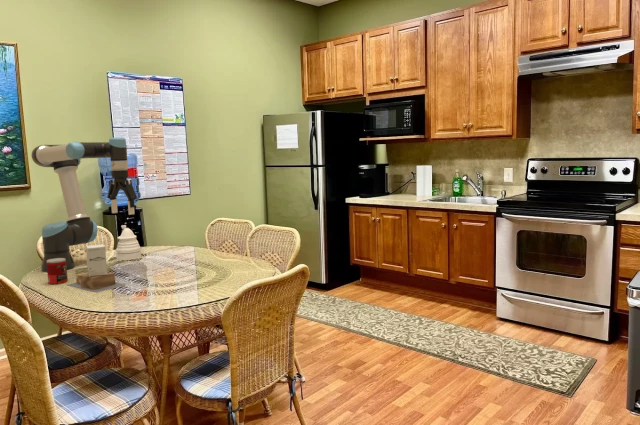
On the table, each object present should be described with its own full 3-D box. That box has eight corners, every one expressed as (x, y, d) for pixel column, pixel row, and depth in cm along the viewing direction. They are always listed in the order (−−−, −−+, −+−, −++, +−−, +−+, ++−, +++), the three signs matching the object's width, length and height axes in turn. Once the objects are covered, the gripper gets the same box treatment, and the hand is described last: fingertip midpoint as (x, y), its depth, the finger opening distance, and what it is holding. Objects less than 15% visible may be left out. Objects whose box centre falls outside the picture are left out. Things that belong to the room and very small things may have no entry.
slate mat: (65, 286, 218) (65, 285, 217) (95, 279, 229) (95, 277, 229) (96, 294, 204) (96, 292, 204) (126, 286, 216) (126, 284, 215)
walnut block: (81, 286, 214) (80, 275, 213) (102, 281, 222) (101, 270, 222) (94, 289, 208) (93, 278, 208) (115, 284, 217) (114, 273, 216)
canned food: (59, 286, 218) (57, 261, 217) (44, 285, 220) (42, 261, 219) (71, 281, 226) (69, 258, 224) (56, 281, 227) (54, 257, 226)
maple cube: (76, 283, 220) (75, 274, 219) (85, 281, 223) (84, 272, 222) (81, 284, 217) (80, 275, 217) (90, 282, 221) (89, 273, 220)
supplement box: (88, 277, 210) (86, 248, 208) (87, 273, 216) (85, 245, 215) (107, 274, 213) (105, 246, 212) (106, 271, 220) (103, 243, 218)
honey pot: (111, 259, 272) (109, 227, 269) (125, 254, 284) (123, 223, 282) (132, 260, 269) (130, 227, 267) (145, 255, 281) (143, 224, 279)
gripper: (97, 170, 241) (101, 213, 243) (128, 170, 227) (132, 215, 229) (111, 169, 247) (114, 211, 249) (142, 169, 233) (145, 213, 235)
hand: (123, 213), depth 239 cm, fingers open, 13 cm apart
